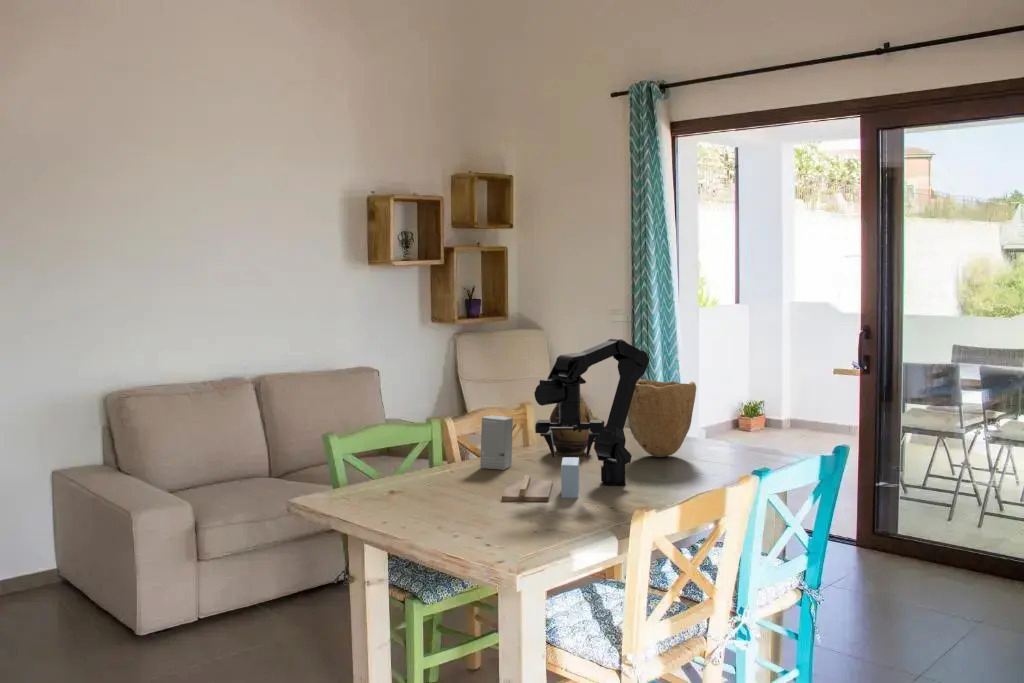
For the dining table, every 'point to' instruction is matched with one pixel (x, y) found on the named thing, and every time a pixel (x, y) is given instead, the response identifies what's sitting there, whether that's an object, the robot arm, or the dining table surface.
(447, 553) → the dining table surface
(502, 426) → the skincare box
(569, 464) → the blue block
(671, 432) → the brown stone pot
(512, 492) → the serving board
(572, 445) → the ceramic jug
